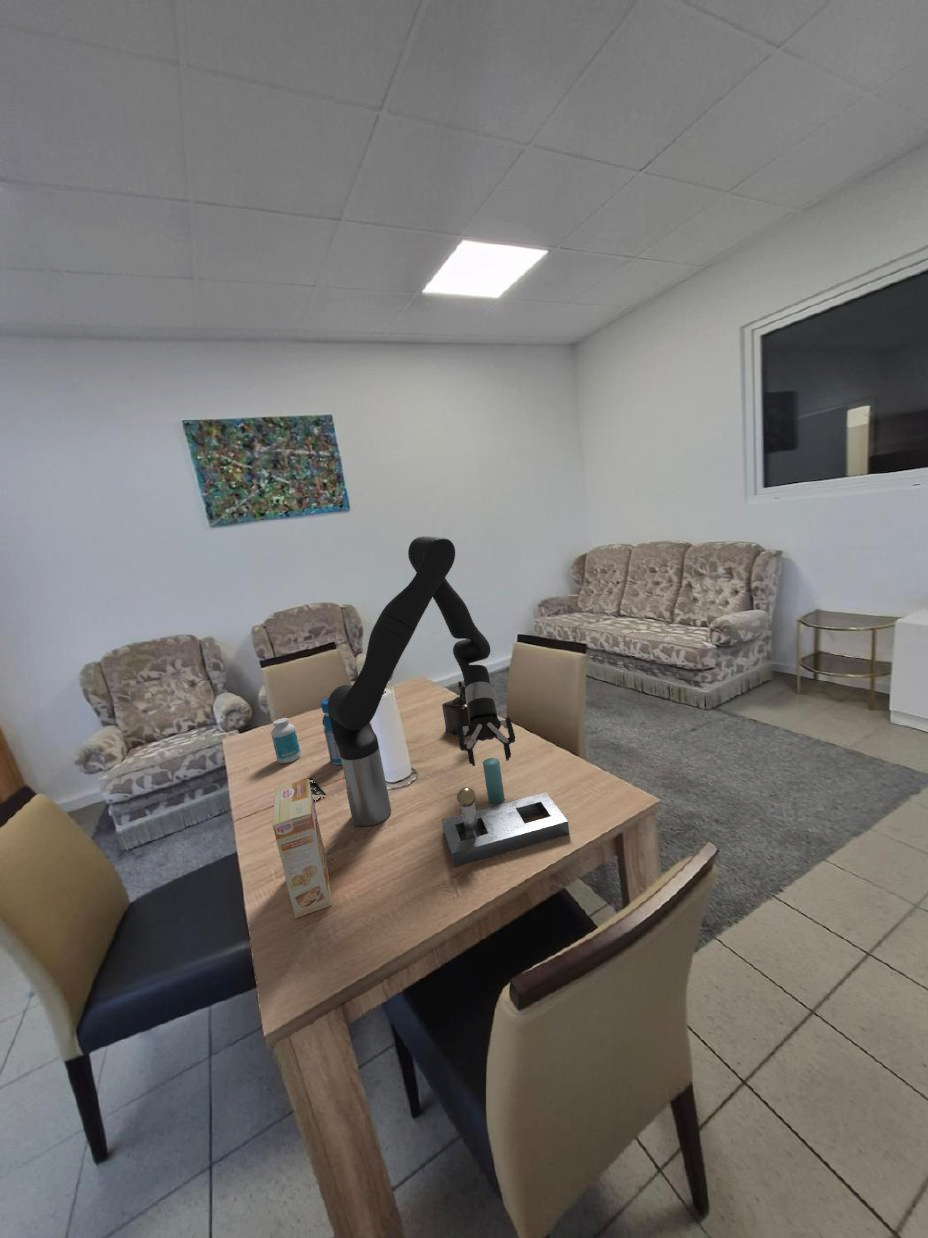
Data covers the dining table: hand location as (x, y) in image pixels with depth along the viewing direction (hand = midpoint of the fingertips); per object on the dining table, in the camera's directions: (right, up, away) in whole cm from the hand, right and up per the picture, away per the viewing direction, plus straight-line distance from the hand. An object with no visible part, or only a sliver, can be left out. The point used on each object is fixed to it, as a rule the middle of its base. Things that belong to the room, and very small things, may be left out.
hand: (490, 762), depth 118 cm
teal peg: (+1, -9, -2) cm, 9 cm away
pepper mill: (-4, -2, +40) cm, 41 cm away
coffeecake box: (-37, -19, -22) cm, 47 cm away
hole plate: (+2, -11, -15) cm, 18 cm away
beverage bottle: (-45, -9, +33) cm, 56 cm away
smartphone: (-51, -14, +16) cm, 55 cm away
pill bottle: (-64, -11, +39) cm, 76 cm away
